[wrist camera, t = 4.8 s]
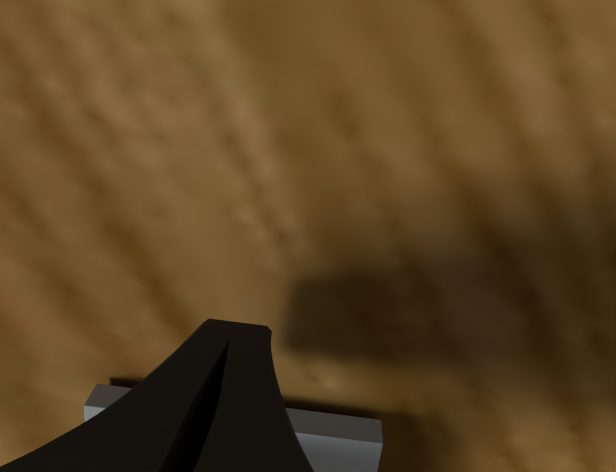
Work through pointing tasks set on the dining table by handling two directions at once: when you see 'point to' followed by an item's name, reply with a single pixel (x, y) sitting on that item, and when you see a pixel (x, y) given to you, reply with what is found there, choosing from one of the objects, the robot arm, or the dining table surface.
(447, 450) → the dining table surface
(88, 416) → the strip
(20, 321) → the dining table surface
